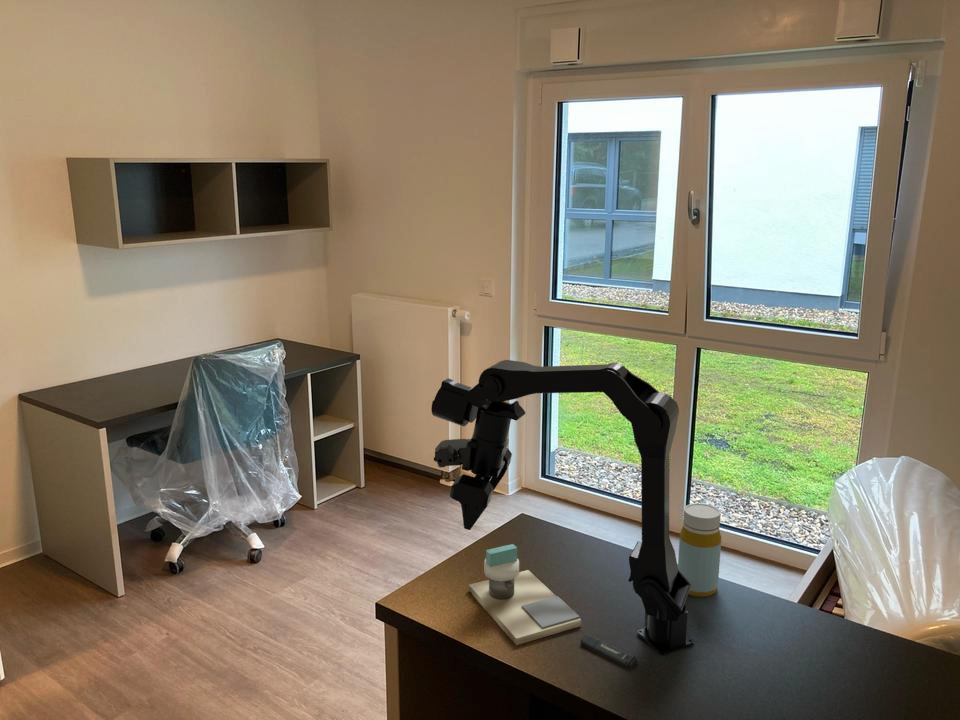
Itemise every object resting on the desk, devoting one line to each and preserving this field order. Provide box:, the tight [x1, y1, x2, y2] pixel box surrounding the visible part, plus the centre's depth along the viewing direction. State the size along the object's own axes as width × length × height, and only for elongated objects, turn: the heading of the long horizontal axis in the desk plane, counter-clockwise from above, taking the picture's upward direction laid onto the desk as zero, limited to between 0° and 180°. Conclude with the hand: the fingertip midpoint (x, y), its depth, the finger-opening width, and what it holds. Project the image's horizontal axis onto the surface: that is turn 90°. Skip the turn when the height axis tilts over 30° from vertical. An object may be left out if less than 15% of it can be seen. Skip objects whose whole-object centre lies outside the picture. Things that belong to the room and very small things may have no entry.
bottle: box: [677, 502, 722, 598], centre depth 136 cm, size 7×7×15 cm
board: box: [468, 569, 582, 646], centre depth 131 cm, size 18×12×5 cm, turn 25°
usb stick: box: [580, 633, 639, 670], centre depth 119 cm, size 10×3×2 cm, turn 46°
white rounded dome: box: [483, 543, 520, 581], centre depth 133 cm, size 6×6×4 cm
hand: (474, 516), depth 133 cm, fingers open, 9 cm apart
